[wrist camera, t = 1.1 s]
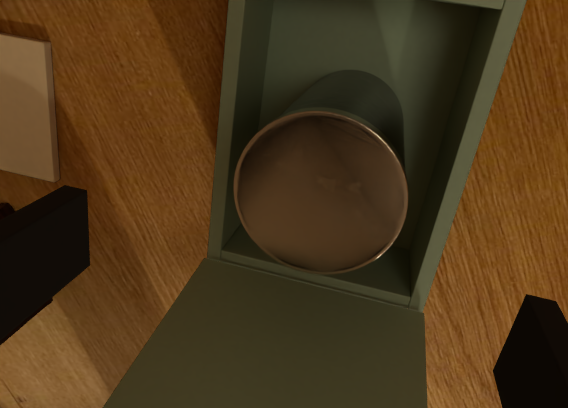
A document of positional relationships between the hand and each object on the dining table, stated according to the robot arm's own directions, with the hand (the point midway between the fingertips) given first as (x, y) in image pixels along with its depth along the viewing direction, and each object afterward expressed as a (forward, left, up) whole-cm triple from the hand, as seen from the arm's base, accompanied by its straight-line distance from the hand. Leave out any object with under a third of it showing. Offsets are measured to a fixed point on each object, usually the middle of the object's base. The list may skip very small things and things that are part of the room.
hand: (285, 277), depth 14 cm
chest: (0, 0, -20) cm, 20 cm away
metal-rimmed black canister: (0, 0, -19) cm, 19 cm away
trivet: (+4, -28, -20) cm, 34 cm away
